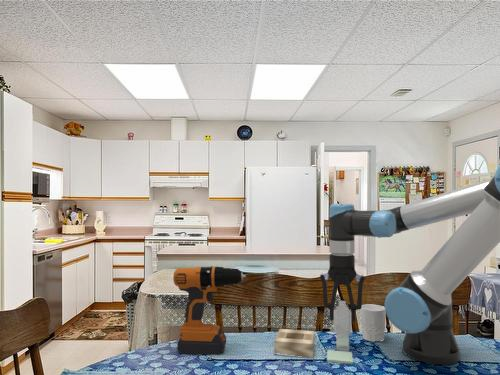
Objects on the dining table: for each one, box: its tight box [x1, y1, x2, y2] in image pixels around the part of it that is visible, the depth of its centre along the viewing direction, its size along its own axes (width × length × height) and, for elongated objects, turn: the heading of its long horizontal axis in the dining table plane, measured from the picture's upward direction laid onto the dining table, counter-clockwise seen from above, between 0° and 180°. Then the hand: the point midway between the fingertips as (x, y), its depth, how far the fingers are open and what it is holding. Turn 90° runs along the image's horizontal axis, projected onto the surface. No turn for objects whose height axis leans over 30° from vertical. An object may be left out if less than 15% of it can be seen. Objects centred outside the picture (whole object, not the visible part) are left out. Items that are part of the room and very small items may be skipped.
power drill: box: [173, 265, 247, 355], centre depth 114 cm, size 22×7×25 cm, turn 87°
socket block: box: [273, 328, 316, 359], centre depth 115 cm, size 11×11×4 cm
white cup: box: [360, 303, 387, 343], centre depth 124 cm, size 8×8×10 cm
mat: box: [326, 349, 354, 365], centre depth 108 cm, size 7×7×1 cm
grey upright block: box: [335, 300, 350, 352], centre depth 116 cm, size 4×6×14 cm, turn 168°
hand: (342, 331), depth 116 cm, fingers open, 4 cm apart
